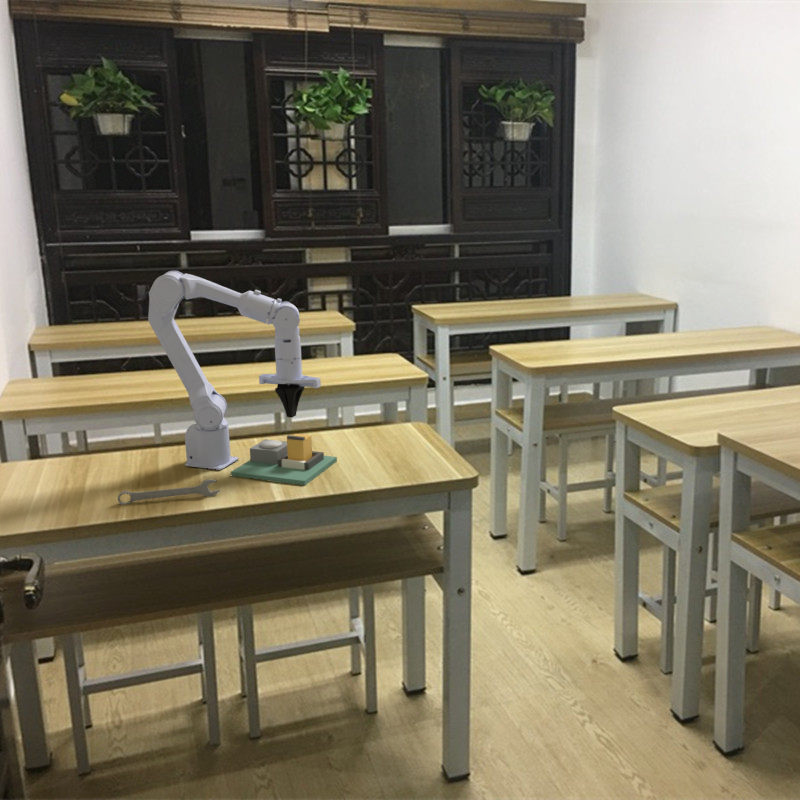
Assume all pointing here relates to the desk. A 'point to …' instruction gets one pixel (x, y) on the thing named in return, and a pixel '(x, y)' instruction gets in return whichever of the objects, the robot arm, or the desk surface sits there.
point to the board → (282, 464)
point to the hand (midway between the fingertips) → (291, 416)
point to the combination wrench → (171, 492)
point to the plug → (299, 447)
